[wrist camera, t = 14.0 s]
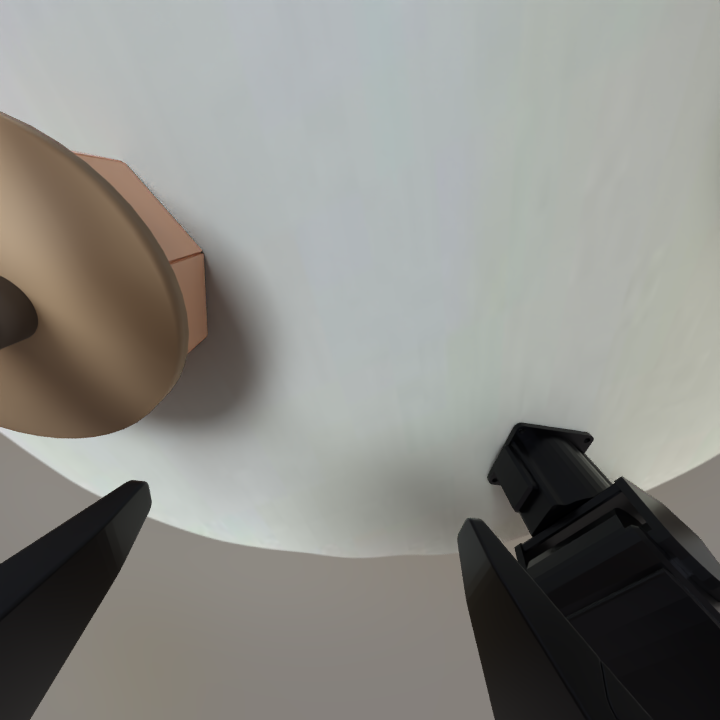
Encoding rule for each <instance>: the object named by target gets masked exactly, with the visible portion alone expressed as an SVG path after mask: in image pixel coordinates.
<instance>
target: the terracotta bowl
mask: <svg viewBox="0 0 720 720" xmlns="http://www.w3.org/2000/svg"><path fill="white" fill-rule="evenodd" d="M70 151H71V150H70ZM71 152H73V153H74V154H76V155H77V156H78V157H80V158H81V159H82V160H84V161H85V162H86V163H88V164H89V165H90V166H91V167H92V168H93V169H94V170H95V171H97V172H98V173H99V174H100V175H101V176H102V177H103V178H105V179H106V180H107V181H108V182H109V183H110V184H111V185H112V186H113V187H114V188H115V189H116V190H117V191H118V192H119V193H120V194H121V195H122V196H123V198H124V199H125V200H126V201H127V202H128V203H129V204H130V205H131V206H132V207H133V209H134V210H135V211H136V212H137V214H138V215H139V216H140V218H141V219H142V220H143V221H144V223H145V224H146V225H147V226H148V228H149V229H150V231H151V232H152V234H153V235H154V237H155V238H156V240H157V242H158V243H159V245H160V246H161V248H162V249H163V251H164V253H165V255H166V257H167V259H168V261H169V263H170V265H171V267H172V269H173V271H174V273H175V275H176V278H177V281H178V284H179V286H180V289H181V292H182V294H183V299H184V303H185V307H186V311H187V318H188V328H189V341H188V352H187V354H188V353H189V352H190V351H191V350H192V349H194V348H195V347H196V346H197V345H198V344H199V343H200V342H201V341H203V340H204V339H205V338H206V337H207V335H208V330H207V310H206V289H205V269H204V254H203V253H200V252H202V250H201V248H200V247H199V246H198V245H197V244H196V243H195V242H194V241H193V239H192V238H191V237H190V236H189V235H188V234H187V233H186V231H185V230H184V229H183V228H182V227H181V226H180V225H179V224H178V222H177V221H176V220H175V219H174V218H173V217H172V216H171V215H170V213H169V212H168V211H167V210H166V209H165V208H164V207H163V205H162V204H161V203H160V202H159V201H158V200H157V199H156V198H155V196H154V195H153V194H152V193H151V192H150V191H149V190H148V188H147V187H146V186H145V185H144V184H143V183H142V182H141V181H140V179H139V178H138V177H137V176H136V175H135V174H134V173H133V171H132V170H131V169H130V168H129V167H128V166H127V165H126V164H125V163H122V161H119V160H114V159H110V158H105V157H100V156H95V155H90V154H85V153H81V152H76V151H71Z"/></svg>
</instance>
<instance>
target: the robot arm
mask: <svg viewBox="0 0 720 720" xmlns="http://www.w3.org/2000/svg"><path fill="white" fill-rule="evenodd" d="M520 429H522V430H520ZM593 440H594V438H593V437H592V436H591V435H590V434H589V433H587V432H581V431H575V430H568V429H561V428H554V427H548V426H541V425H534V424H527V423H518V424H516V425H515V426H514V428H513V430H512V431H511V433H510V435H509V437H508V439H507V441H506V443H505V445H504V446H503V448H502V450H501V452H500V454H499V456H498V458H497V459H496V461H495V463H494V465H493V467H492V469H491V471H490V473H489V474H488V477H487V478H488V480H489V483H491V484H494V485H501V486H502V488H503V490H504V492H505V494H506V496H507V498H508V500H509V502H510V504H511V506H512V507H513V509H514V511H515V512H518V513H520V515H521V517H522V519H523V521H524V522H525V524H526V526H527V528H528V530H529V532H530V534H531V536H532V538H531V539H529V540H528V541H526V542H524V543H523V544H522V543H520V544H519V545H517V546H516V547H515V552H516V556H517V560H518V561H517V560H516V559H515V558H514V557H513V555H512V554H511V553H510V552H509V551H508V550H507V548H506V547H505V546H504V545H503V544H502V543H501V541H500V540H499V539H498V538H497V537H496V535H495V534H494V533H493V532H492V531H491V530H490V528H489V527H488V526H487V525H486V524H485V523H484V522H483V521H482V520H481V519H476V518H468V519H466V521H465V522H464V524H463V526H462V528H461V530H460V532H459V534H458V539H457V540H458V549H459V556H460V562H461V569H462V576H463V582H464V589H465V595H466V601H467V606H468V610H469V615H470V619H471V623H472V627H473V631H474V635H475V640H476V643H477V648H478V652H479V656H480V660H481V664H482V669H483V673H484V677H485V681H486V685H487V689H488V693H489V697H490V702H491V706H492V710H493V714H494V718H495V720H720V564H719V562H718V561H717V560H716V559H715V557H714V556H713V555H712V553H711V552H710V551H709V549H708V548H707V547H706V545H705V544H704V543H703V541H702V540H701V539H700V538H699V537H698V536H697V535H696V534H695V533H694V532H693V531H692V530H691V529H690V528H689V527H688V526H686V525H685V524H684V523H683V522H682V521H681V520H680V519H679V518H678V517H677V516H676V515H674V513H672V512H671V511H670V510H669V509H668V508H667V507H666V506H665V505H664V504H662V503H661V502H660V501H658V500H657V499H655V498H654V497H652V496H651V495H649V494H648V493H646V492H645V491H643V490H642V489H640V488H639V487H637V486H636V485H634V484H633V483H631V482H630V481H628V480H627V479H625V478H624V477H622V476H621V477H620V478H618V479H617V480H615V481H614V482H615V483H614V484H612V483H611V482H610V481H609V480H608V478H607V477H606V476H605V475H604V474H603V473H602V472H601V471H600V470H599V469H598V467H597V466H596V465H595V464H594V463H593V462H592V461H591V460H590V459H589V458H588V457H587V455H586V454H585V452H586V450H587V449H588V447H589V446H590V445H591V443H592V442H593ZM151 504H152V500H151V495H150V490H149V485H148V483H147V482H145V481H136V480H131V481H128V482H126V483H124V484H123V485H121V486H120V487H118V488H117V489H115V490H114V491H112V492H111V493H109V494H108V495H106V496H104V497H103V498H101V499H100V500H98V501H97V502H95V503H94V504H92V505H91V506H89V507H88V508H86V509H84V510H83V511H81V512H80V513H78V514H77V515H75V516H74V517H72V518H70V519H69V520H67V521H66V522H64V523H63V524H61V525H60V526H58V527H57V528H55V529H53V530H52V531H50V532H49V533H47V534H46V535H44V536H43V537H41V538H40V539H38V540H36V541H35V542H34V543H32V544H31V545H29V546H27V547H26V548H24V549H23V550H21V551H20V552H18V553H16V554H15V555H13V556H12V557H10V558H9V559H7V560H6V561H4V562H3V563H1V564H0V720H30V719H31V717H32V716H33V714H34V712H35V710H36V709H37V707H38V706H39V704H40V702H41V700H42V699H43V697H44V696H45V694H46V692H47V691H48V689H49V687H50V686H51V684H52V683H53V681H54V679H55V677H56V676H57V674H58V673H59V671H60V669H61V668H62V666H63V664H64V663H65V661H66V660H67V658H68V656H69V655H70V653H71V651H72V650H73V648H74V646H75V645H76V643H77V641H78V640H79V638H80V636H81V635H82V633H83V632H84V630H85V628H86V627H87V625H88V623H89V621H90V620H91V618H92V617H93V615H94V613H95V612H96V610H97V608H98V607H99V605H100V604H101V602H102V600H103V599H104V597H105V595H106V594H107V592H108V590H109V589H110V587H111V585H112V584H113V582H114V580H115V579H116V577H117V575H118V573H119V572H120V570H121V567H122V566H123V564H124V562H125V560H126V558H127V556H128V554H129V552H130V550H131V548H132V545H133V544H134V541H135V540H136V537H137V535H138V533H139V531H140V529H141V527H142V525H143V523H144V521H145V519H146V517H147V515H148V513H149V511H150V508H151Z"/></svg>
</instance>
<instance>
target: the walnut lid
mask: <svg viewBox="0 0 720 720" xmlns="http://www.w3.org/2000/svg"><path fill="white" fill-rule="evenodd" d="M188 341H189V328H188V318H187V311H186V307H185V303H184V299H183V294H182V292H181V289H180V286H179V284H178V281H177V278H176V275H175V273H174V271H173V269H172V267H171V265H170V263H169V261H168V259H167V257H166V255H165V253H164V251H163V249H162V248H161V246H160V245H159V243H158V242H157V240H156V238H155V237H154V235H153V234H152V232H151V231H150V229H149V228H148V226H147V225H146V224H145V223H144V221H143V220H142V219H141V218H140V216H139V215H138V214H137V212H136V211H135V210H134V209H133V207H132V206H131V205H130V204H129V203H128V202H127V201H126V200H125V199H124V198H123V196H122V195H121V194H120V193H119V192H118V191H117V190H116V189H115V188H114V187H113V186H112V185H111V184H110V183H109V182H108V181H107V180H106V179H105V178H103V177H102V176H101V175H100V174H99V173H98V172H97V171H95V170H94V169H93V168H92V167H91V166H90V165H89V164H88V163H86V162H85V161H84V160H82V159H81V158H80V157H78V156H77V155H76V154H74V153H73V152H71V151H70V150H69V149H67V148H66V147H65V146H63V145H62V144H60V143H59V142H57V141H56V140H54V139H52V138H51V137H49V136H47V135H46V134H44V133H42V132H41V131H39V130H37V129H36V128H34V127H32V126H31V125H28V124H26V123H24V122H22V121H20V120H18V119H16V118H13V117H11V116H9V115H7V114H5V113H3V112H0V427H3V428H6V429H10V430H13V431H17V432H22V433H27V434H32V435H37V436H44V437H53V438H88V437H96V436H101V435H106V434H110V433H113V432H116V431H119V430H122V429H125V428H127V427H129V426H131V425H133V424H135V423H137V422H138V421H139V420H141V419H142V418H144V417H145V416H146V415H148V414H149V413H150V412H151V411H152V410H153V409H154V408H155V407H156V406H157V405H158V404H159V403H160V402H161V401H162V400H163V399H164V398H165V396H166V395H167V394H168V393H169V392H170V391H171V390H172V389H173V387H174V385H175V384H176V382H177V381H178V379H179V377H180V375H181V373H182V370H183V368H184V365H185V361H186V357H187V352H188Z"/></svg>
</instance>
